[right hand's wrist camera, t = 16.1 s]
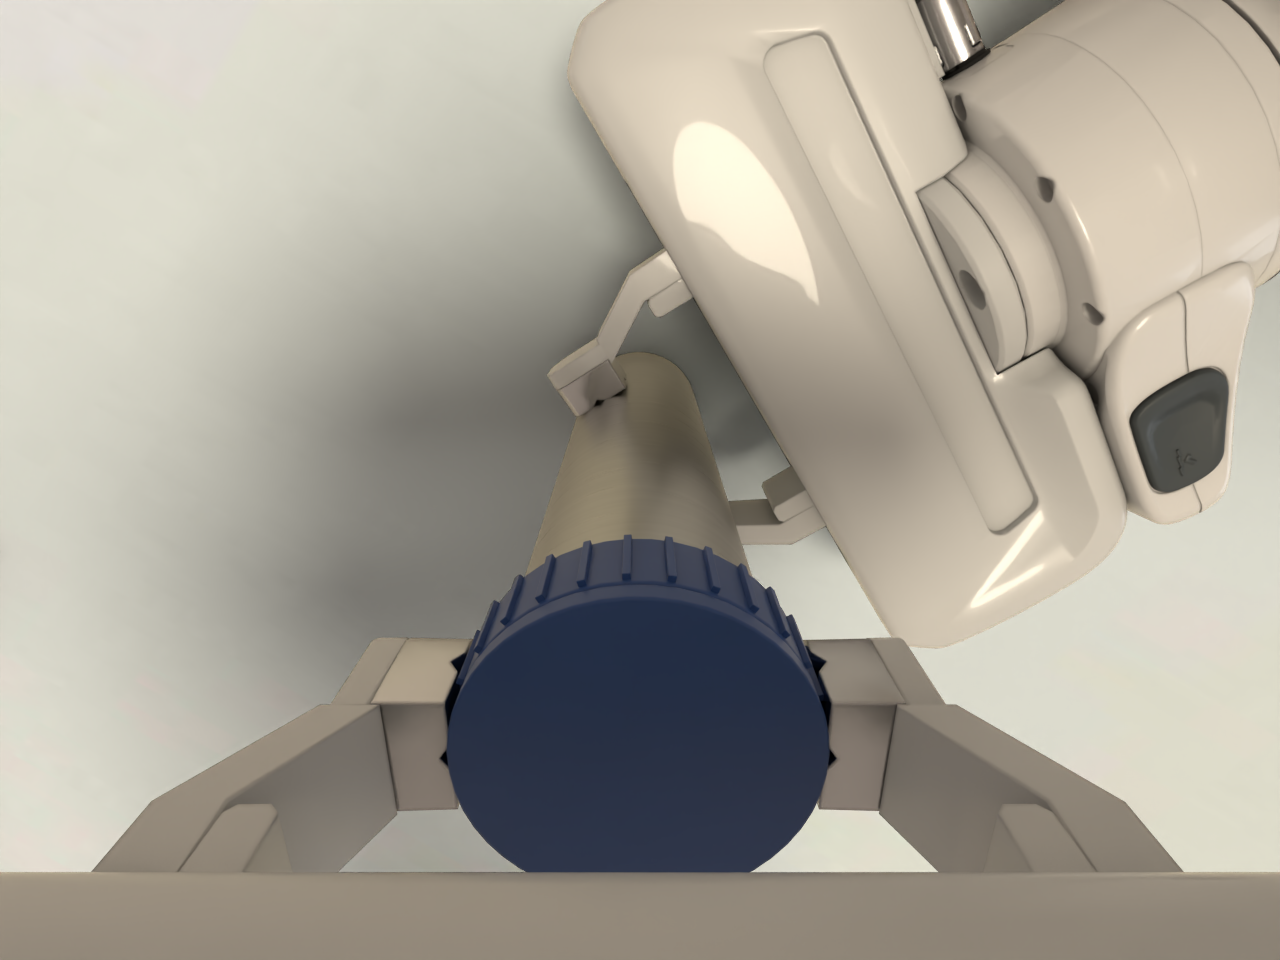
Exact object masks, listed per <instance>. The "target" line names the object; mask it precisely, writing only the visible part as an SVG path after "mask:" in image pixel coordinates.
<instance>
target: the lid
mask: <svg viewBox="0 0 1280 960" xmlns="http://www.w3.org/2000/svg"><path fill="white" fill-rule="evenodd" d="M456 684H459V685H460V686H459V687H460V692H459V695H458V697H457V700H456V702H455V705H454V707H453V710H452V713H451V718H450V722H449V727H448V732H447V751H446V752H447V761H448V769H449V774H450V778H451V782H452V785H453V789H454V792H455V794H456V796H457V799H458V801H459V803H460V805H461V807H462V809H463V811H464V813H465V814H466V816H467V817H468V819H469V820H470V822H471V824H472V825H473V827H474V828H475V829H476V830H477V831H478V833H479V834H480V835H481V836H482V837H483V838H484V839H485V841H486V842H487V843H488V844H489V845H490V846H492V847H493V848H494V849H495V850H496V851H497V852H498V853H499V854H501V855H502V856H503V857H504V858H506V859H507V860H508V861H510V862H511V863H513V864H514V865H516V866H517V867H518V868H520V869H522V870H523V871H525V872H751V871H753V870H755V869H756V868H758V867H759V866H761V865H762V864H763V863H765V862H766V861H768V860H769V859H771V858H772V857H773V856H774V855H776V854H777V853H778V852H779V851H780V850H781V849H782V848H784V847H785V846H786V845H787V844H788V843H789V842H790V841H791V840H792V838H793V837H794V836H795V835H796V834H797V833H798V832H799V831H800V830H801V828H802V827H803V825H804V824H805V822H806V821H807V819H808V818H809V816H810V815H811V813H812V812H813V810H814V808H815V805H816V803H817V801H818V799H819V797H820V795H821V792H822V789H823V786H824V782H825V779H826V776H827V770H828V762H829V755H830V750H829V732H828V727H827V722H826V716H825V713H824V710H823V707H822V705H821V702H820V701H823V699H824V694H823V691H822V689H821V686H820V684H819V681H818V678H817V676H816V673H815V671H814V668H813V665H812V663H811V660H810V658H809V655H808V652H807V650H806V647H805V645H804V642H803V640H802V637H801V635H800V632H799V629H798V627H797V624H796V622H795V619H794V617H793V616H792V614H791V615H789V616H787V617H786V615H785V613H784V611H783V610H782V608H781V607H780V605H779V602H778V599H777V596H776V594H775V591H774V590H773V589H772V588H771V587H768V588H767V589H765V588H764V587H763V586H762V585H761V584H760V583H759V582H758V581H756V580H755V579H754V578H753V577H751V576H750V575H749V573H748V570H747V567H746V566H745V565H743V564H742V563H740V564H739V566H736V565H734V564H732V563H730V562H729V561H727V560H725V559H723V558H721V557H719V556H717V555H715V554H713V551H712V548H710V547H707V546H705V547H704V549H703V550H702V549H699V548H696V547H693V546H689V545H685V544H681V543H677V542H673V537H668V536H665V540H656V539H632V535H631V534H629V535H624V539H621V540H612V541H604V542H600V543H596V544H592V543H591V540H588V541H585V542H583V547H580V548H578V549H575V550H572V551H570V552H567V553H564V554H562V555H559V556H558V557H556V558H555V557H554V555H553V554H550V555H549V556H547V557H546V559H545V563H544V564H542V565H541V566H539V567H538V568H536V569H535V570H533V571H532V572H531V573H529V574H528V575H526V576H525V577H522V576H521V575H520V574H519V575H518V576H517V577H516V578H515V579H514V582H513V585H512V588H511V589H510V590H509V591H508V593H507V594H506V595H505V596H504V597H503V599H502V600H501V601H500V602H497V601H495V600H494V601H493V603H492V604H491V606H490V608H489V611H488V613H487V616H486V619H485V621H484V624H483V626H482V629H481V631H479V630H477V631H476V634H475V636H474V639H473V641H472V644H471V646H470V649H469V651H468V654H467V656H466V659H465V661H464V664H463V666H462V669H461V671H460V674H459V676H458V679H457V682H456Z"/></svg>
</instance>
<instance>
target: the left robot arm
mask: <svg viewBox="0 0 1280 960" xmlns="http://www.w3.org/2000/svg"><path fill="white" fill-rule="evenodd" d="M944 75H945V76H944ZM567 77H568V81H569V84H570V86H571V89H572V91H573V93H574V94H575V96H576V98H577V99H578V101H579V103H580V105H581V106H582V108H583V110H584V112H585V113H586V115H587V117H588V118H589V120H590V122H591V124H592V125H593V127H594V129H595V130H596V132H597V134H598V136H599V137H600V139H601V141H602V143H603V144H604V146H605V148H606V149H607V151H608V153H609V155H610V156H611V158H612V160H613V161H614V163H615V165H616V167H617V168H618V170H619V172H620V174H621V175H622V177H623V179H624V180H625V182H626V184H627V185H628V187H629V189H630V190H631V192H632V194H633V196H634V197H635V199H636V201H637V202H638V204H639V206H640V208H641V209H642V211H643V213H644V214H645V216H646V218H647V220H648V221H649V223H650V225H651V227H652V228H653V230H654V232H655V233H656V235H657V237H658V239H659V240H660V242H661V244H662V245H663V247H664V248H663V249H662V250H660V251H659V252H657V253H656V254H654V255H653V256H651V257H650V258H648V259H647V260H645V261H644V262H642V263H641V264H639V265H638V266H636V267H635V268H633V269H632V270H630V271H629V273H628V275H627V277H626V279H625V281H624V283H623V285H622V287H621V289H620V291H619V293H618V295H617V297H616V299H615V301H614V303H613V305H612V307H611V309H610V311H609V313H608V315H607V317H606V319H605V321H604V323H603V325H602V327H601V329H600V331H599V333H598V336H597V338H595V339H593V340H592V341H590V342H589V343H587V344H586V345H584V346H583V347H581V348H580V349H578V350H576V351H575V352H573V353H572V354H570V355H569V356H567V357H566V358H564V359H563V360H561V361H560V362H559V363H558V364H556V365H555V366H554V367H552V368H551V370H550V371H549V373H548V375H547V376H548V378H549V379H550V381H551V383H552V384H553V386H554V387H555V389H556V390H557V391H558V393H559V394H560V395H561V397H562V398H563V400H564V401H565V402H566V404H567V405H568V407H569V408H570V410H571V411H572V412H573V414H574V415H575V417H578V416H581V415H583V414H585V413H586V412H588V411H589V410H590V409H592V408H593V407H594V405H595V403H596V400H606V399H608V398H611V397H612V396H614V395H616V394H617V393H619V392H620V391H622V390H623V389H625V388H626V382H625V380H626V378H627V375H626V373H625V372H624V370H623V368H622V367H621V365H620V364H619V362H618V360H617V359H616V355H617V353H618V351H619V349H620V347H621V345H622V343H623V341H624V339H625V338H626V336H627V334H628V332H629V330H630V328H631V326H632V324H633V322H634V320H635V319H636V317H637V315H638V313H639V311H640V309H641V307H642V305H643V303H644V302H645V301H648V306H649V308H650V309H651V311H652V312H653V314H654V316H655V317H660V318H661V317H662V316H664V315H665V314H667V313H669V312H670V311H672V310H674V309H675V308H677V307H678V306H680V305H682V304H683V303H685V302H687V301H688V300H690V299H692V298H693V299H694V300H695V302H696V304H697V306H698V307H699V309H700V311H701V312H702V314H703V316H704V318H705V319H706V321H707V323H708V324H709V326H710V328H711V330H712V331H713V333H714V335H715V337H716V338H717V340H718V342H719V343H720V345H721V347H722V349H723V350H724V352H725V354H726V355H727V357H728V359H729V361H730V362H731V364H732V366H733V367H734V369H735V371H736V373H737V374H738V376H739V378H740V380H741V381H742V383H743V385H744V386H745V388H746V390H747V392H748V393H749V395H750V397H751V398H752V400H753V402H754V404H755V405H756V407H757V409H758V410H759V412H760V414H761V416H762V417H763V419H764V421H765V422H766V424H767V426H768V428H769V429H770V431H771V433H772V435H773V436H774V438H775V440H776V441H777V443H778V445H779V447H780V448H781V450H782V452H783V453H784V455H785V457H786V459H787V460H788V462H789V464H790V465H791V466H790V467H788V468H787V469H785V470H783V471H782V472H780V473H778V474H776V475H775V476H773V477H771V478H770V479H768V480H766V481H764V482H763V484H762V488H763V490H764V493H765V495H766V497H767V499H756V500H739V501H728V503H729V506H730V509H731V512H732V515H733V518H734V521H735V524H736V528H737V531H738V534H739V537H740V540H741V543H742V545H746V544H794V543H796V542H797V541H799V540H801V539H803V538H805V537H807V536H809V535H810V534H812V533H814V532H816V531H818V530H820V529H822V528H824V527H825V526H826V527H827V529H828V531H829V533H830V534H831V536H832V538H833V539H834V541H835V543H836V545H837V546H838V548H839V550H840V552H841V553H842V555H843V557H844V558H845V560H846V562H847V564H848V565H849V567H850V569H851V571H852V572H853V574H854V576H855V577H856V579H857V581H858V583H859V584H860V586H861V588H862V589H863V591H864V593H865V595H866V596H867V598H868V600H869V601H870V603H871V605H872V607H873V608H874V610H875V612H876V613H877V615H878V617H879V619H880V620H881V622H882V623H883V625H884V626H885V628H886V629H887V631H888V632H889V634H890V636H891V637H899V638H901V639H903V640H904V641H905V642H906V644H907V645H908V646H910V647H920V648H935V649H936V648H944V647H948V646H951V645H953V644H956V643H959V642H961V641H964V640H966V639H968V638H970V637H973V636H975V635H977V634H979V633H981V632H983V631H985V630H987V629H990V628H992V627H994V626H996V625H998V624H1000V623H1002V622H1004V621H1006V620H1008V619H1010V618H1012V617H1014V616H1015V615H1017V614H1019V613H1021V612H1023V611H1025V610H1027V609H1029V608H1030V607H1032V606H1034V605H1036V604H1038V603H1040V602H1042V601H1043V600H1045V599H1047V598H1049V597H1050V596H1052V595H1054V594H1055V593H1057V592H1059V591H1061V590H1062V589H1064V588H1066V587H1068V586H1069V585H1071V584H1072V583H1074V582H1076V581H1077V580H1079V579H1080V578H1082V577H1083V576H1085V575H1086V574H1088V573H1089V572H1090V571H1092V570H1093V569H1094V568H1096V567H1097V566H1098V565H1099V564H1100V563H1101V562H1102V561H1103V560H1104V559H1105V558H1106V557H1108V555H1109V554H1110V553H1111V552H1112V550H1113V549H1114V548H1115V547H1116V545H1117V543H1118V542H1119V540H1120V538H1121V536H1122V534H1123V532H1124V529H1125V526H1126V520H1127V510H1128V511H1130V512H1133V513H1135V514H1137V515H1139V516H1141V517H1143V518H1146V519H1148V520H1150V521H1152V522H1155V523H1157V524H1162V525H1166V524H1173V523H1177V522H1180V521H1182V520H1185V519H1188V518H1190V517H1192V516H1194V515H1196V514H1198V513H1201V512H1202V511H1204V510H1206V509H1208V508H1209V507H1211V506H1212V505H1213V504H1215V503H1216V502H1217V501H1218V500H1219V499H1220V498H1221V497H1222V496H1223V494H1224V493H1225V491H1226V489H1227V486H1228V483H1229V479H1230V473H1231V462H1232V443H1233V427H1234V414H1235V403H1236V393H1237V385H1238V378H1239V370H1240V364H1241V358H1242V353H1243V347H1244V342H1245V338H1246V333H1247V329H1248V325H1249V321H1250V317H1251V313H1252V309H1253V305H1254V299H1255V288H1257V287H1258V286H1260V285H1262V284H1264V283H1266V282H1267V281H1269V280H1270V279H1272V278H1273V277H1274V276H1276V275H1277V274H1278V273H1279V272H1280V0H1065V1H1064V2H1062V3H1061V4H1059V5H1058V6H1056V7H1055V8H1053V9H1051V10H1050V11H1048V12H1047V13H1045V14H1044V15H1042V16H1041V17H1039V18H1038V19H1036V20H1035V21H1033V22H1032V23H1030V24H1028V25H1027V26H1025V27H1024V28H1022V29H1021V30H1019V31H1018V32H1016V33H1015V34H1013V35H1012V36H1010V37H1009V38H1007V39H1006V40H1004V41H1002V42H1000V43H999V44H997V45H996V46H994V47H993V48H991V49H990V48H988V49H985V47H984V44H983V42H982V39H981V36H980V34H979V31H978V29H977V26H976V24H975V22H974V19H973V16H972V14H971V11H970V9H969V6H968V4H967V1H966V0H606V1H605V2H603V3H602V4H601V5H599V6H598V7H596V8H595V9H594V10H593V11H591V12H590V13H589V14H588V15H587V16H586V17H585V18H584V19H583V20H582V22H581V23H580V25H579V27H578V29H577V32H576V36H575V39H574V42H573V46H572V50H571V54H570V59H569V64H568V69H567ZM941 77H942V78H943V81H942V82H940V79H939V78H941Z"/></svg>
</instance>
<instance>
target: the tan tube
mask: <svg viewBox="0 0 1280 960" xmlns="http://www.w3.org/2000/svg"><path fill="white" fill-rule="evenodd" d="M616 359H617V360H618V362H619V364H620V365H621V367H622V368H623V370H624V372H625V373H626V375H627V378H626V380H625V382H626V388H625V389H623V390H622V391H620V392H619V393H617V394H616V395H614V396H612V397H611V398H608V399H606V400H596V403H595V405H594V407H593V408H592V409H590V410H589V411H588V412H586V413H585V414H583V415H581V416H578V417H577V418H576V421H575V424H574V427H573V430H572V433H571V436H570V439H569V442H568V446H567V449H566V452H565V455H564V458H563V461H562V464H561V467H560V470H559V473H558V476H557V479H556V482H555V485H554V489H553V492H552V495H551V498H550V501H549V504H548V507H547V510H546V513H545V516H544V519H543V522H542V525H541V528H540V531H539V535H538V538H537V541H536V544H535V547H534V550H533V553H532V556H531V559H530V562H529V565H528V568H527V571H526V574H525V576H526V575H528V574H529V573H531V572H532V571H533V570H535V569H536V568H538V567H539V566H541V565H542V564H544V563H545V559H546V557H547V556H549V555H550V554H553V555H554V557H555V558H556V557H558V556H559V555H562V554H564V553H567V552H570V551H572V550H575V549H578V548H580V547H583V542H585V541H588V540H591V543H592V544H596V543H600V542H604V541H612V540H621V539H624V535H629V534H631V535H632V539H656V540H665V536H668V537H673V542H677V543H681V544H685V545H689V546H693V547H696V548H699V549H702V550H703V549H704V547H705V546H707V547H710V548H712V551H713V554H715V555H717V556H719V557H721V558H723V559H725V560H727V561H729V562H730V563H732V564H734V565H736V566H739V564H740V563H742V564H743V565H745V566H746V567H747V570H748V573H749V575H750V576H751V577H752V574H751V571H750V568H749V565H748V562H747V559H746V556H745V553H744V549H743V546H742V543H741V540H740V537H739V534H738V531H737V528H736V524H735V521H734V518H733V515H732V512H731V509H730V506H729V503H728V499H727V496H726V493H725V490H724V487H723V484H722V481H721V478H720V474H719V471H718V468H717V465H716V462H715V459H714V456H713V453H712V449H711V446H710V443H709V440H708V437H707V434H706V431H705V428H704V424H703V421H702V418H701V415H700V412H699V409H698V406H697V403H696V399H695V396H694V393H693V390H692V388H691V385H690V383H689V381H688V379H687V378H686V376H685V375H684V373H683V372H682V371H681V370H680V369H679V368H678V367H677V366H676V365H675V364H673V363H672V362H671V361H669V360H667V359H666V358H664V357H661V356H659V355H656V354H652V353H646V352H632V353H626V354H622V355H619V356H617V357H616Z"/></svg>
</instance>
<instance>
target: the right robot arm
mask: <svg viewBox="0 0 1280 960" xmlns="http://www.w3.org/2000/svg"><path fill="white" fill-rule="evenodd" d="M472 641H473V639H446V638H410V639H409V638H377V639H375V640H373V641H372V642H371V643H370V644H369V646H368V647H367V649H366V650H365V652H364V653H363V655H362V657H361V658H360V660H359V661H358V663H357V664H356V666H355V667H354V669H353V670H352V672H351V673H350V675H349V677H348V678H347V680H346V681H345V683H344V684H343V686H342V687H341V689H340V690H339V692H338V693H337V695H336V697H335V698H334V700H333V701H332V703H331V704H330V705H319V706H317V707H315V708H313V709H312V710H310V711H308V712H306V713H305V714H303V715H301V716H299V717H298V718H296V719H294V720H292V721H291V722H289V723H287V724H285V725H284V726H282V727H280V728H278V729H277V730H275V731H273V732H271V733H270V734H268V735H266V736H264V737H263V738H261V739H259V740H257V741H256V742H254V743H252V744H250V745H249V746H247V747H245V748H243V749H242V750H240V751H238V752H236V753H235V754H233V755H231V756H229V757H228V758H226V759H224V760H222V761H221V762H219V763H217V764H216V765H214V766H212V767H210V768H209V769H207V770H205V771H203V772H202V773H200V774H198V775H196V776H195V777H193V778H191V779H189V780H188V781H186V782H184V783H182V784H181V785H179V786H177V787H175V788H174V789H172V790H170V791H168V792H167V793H165V794H163V795H161V796H160V797H158V798H156V799H154V800H153V801H151V802H150V804H149V805H148V806H147V807H146V808H145V809H144V811H143V812H142V813H141V814H140V815H139V816H138V818H137V819H136V820H135V821H134V822H133V823H132V825H131V826H130V827H129V828H128V829H127V831H126V832H125V833H124V834H123V835H122V836H121V838H120V839H119V840H118V841H117V842H116V843H115V845H114V846H113V847H112V848H111V849H110V851H109V852H108V853H107V854H106V855H105V856H104V858H103V859H102V860H101V861H100V862H99V863H98V865H97V866H96V867H95V868H94V869H93V870H92V872H0V960H1280V872H1183V871H1182V869H1181V868H1180V867H1179V866H1178V865H1177V863H1176V862H1175V861H1174V860H1173V859H1172V857H1171V856H1170V855H1169V854H1168V853H1167V851H1166V850H1165V849H1164V848H1163V847H1162V845H1161V844H1160V843H1159V842H1158V841H1157V839H1156V838H1155V837H1154V836H1153V835H1152V834H1151V832H1150V831H1149V830H1148V829H1147V828H1146V826H1145V825H1144V824H1143V823H1142V822H1141V820H1140V819H1139V818H1138V817H1137V816H1136V814H1135V813H1134V812H1133V811H1132V810H1131V808H1130V807H1129V806H1128V805H1127V804H1126V802H1124V801H1122V800H1121V799H1119V798H1117V797H1115V796H1114V795H1112V794H1110V793H1108V792H1107V791H1105V790H1103V789H1102V788H1100V787H1098V786H1096V785H1095V784H1093V783H1091V782H1089V781H1088V780H1086V779H1084V778H1082V777H1081V776H1079V775H1077V774H1076V773H1074V772H1072V771H1070V770H1069V769H1067V768H1065V767H1063V766H1062V765H1060V764H1058V763H1056V762H1055V761H1053V760H1051V759H1050V758H1048V757H1046V756H1044V755H1043V754H1041V753H1039V752H1037V751H1036V750H1034V749H1032V748H1030V747H1029V746H1027V745H1025V744H1024V743H1022V742H1020V741H1018V740H1017V739H1015V738H1013V737H1011V736H1010V735H1008V734H1006V733H1004V732H1003V731H1001V730H999V729H998V728H996V727H994V726H992V725H991V724H989V723H987V722H985V721H984V720H982V719H980V718H978V717H977V716H975V715H973V714H972V713H970V712H968V711H966V710H965V709H963V708H961V707H959V706H958V705H947V704H945V702H944V701H943V699H942V698H941V696H940V695H939V693H938V691H937V690H936V688H935V687H934V685H933V684H932V682H931V681H930V679H929V678H928V676H927V675H926V673H925V671H924V670H923V668H922V667H921V665H920V664H919V662H918V661H917V659H916V658H915V656H914V655H913V653H912V651H911V650H910V648H909V647H908V645H907V644H906V642H905V641H904V640H903V639H901V638H899V637H889V638H866V639H830V640H803V642H804V645H805V647H806V650H807V652H808V655H809V658H810V660H811V663H812V665H813V668H814V671H815V673H816V676H817V678H818V681H819V684H820V686H821V689H822V691H823V694H824V699H823V701H820V702H821V705H822V707H823V710H824V713H825V716H826V722H827V727H828V732H829V750H830V755H829V762H828V770H827V776H826V779H825V782H824V786H823V789H822V792H821V795H820V797H819V799H818V801H817V804H818V808H819V809H830V810H865V811H879V814H880V815H881V816H882V817H883V818H884V819H885V820H886V821H887V822H888V823H889V824H890V825H891V826H892V827H893V828H894V829H895V830H896V831H897V832H898V833H899V834H900V835H901V836H902V837H903V838H904V839H905V840H906V841H908V842H909V843H910V844H911V845H912V846H913V847H914V848H915V849H916V850H917V851H918V852H919V853H920V854H921V855H922V856H923V857H924V858H925V859H926V860H927V861H928V862H929V863H930V864H931V865H932V866H933V867H934V868H935V869H936V870H937V871H938V872H338V871H339V870H340V869H341V868H342V867H343V866H345V865H346V864H347V863H348V862H349V861H350V860H351V859H352V858H353V857H354V856H355V855H356V854H357V853H358V852H359V851H360V850H361V849H362V848H363V847H364V846H365V845H366V844H367V843H368V842H369V841H370V840H371V839H372V838H373V837H374V836H375V835H376V834H377V833H379V832H380V831H381V830H382V829H383V828H384V827H385V826H386V825H387V824H388V823H389V822H390V821H391V820H392V819H393V818H394V817H395V816H396V815H397V811H411V810H445V809H458V807H459V801H458V799H457V796H456V794H455V792H454V789H453V785H452V782H451V778H450V774H449V769H448V761H447V752H446V751H447V732H448V727H449V722H450V718H451V713H452V710H453V707H454V705H455V702H456V700H457V697H458V695H459V692H460V687H459V686H460V685H459V684H456V682H457V679H458V676H459V674H460V671H461V669H462V666H463V664H464V661H465V659H466V656H467V654H468V651H469V649H470V646H471V644H472Z"/></svg>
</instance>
